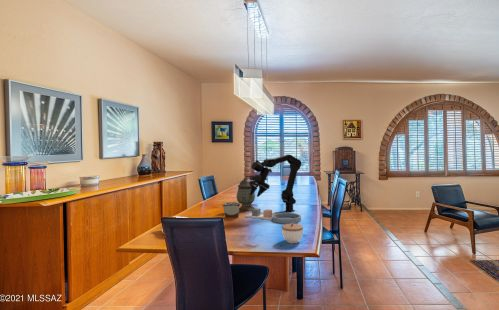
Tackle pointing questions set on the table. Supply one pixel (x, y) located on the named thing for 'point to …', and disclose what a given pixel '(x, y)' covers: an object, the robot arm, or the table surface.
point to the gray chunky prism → (255, 212)
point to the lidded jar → (292, 232)
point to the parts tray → (259, 216)
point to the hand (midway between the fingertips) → (254, 195)
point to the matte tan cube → (267, 213)
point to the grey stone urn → (245, 196)
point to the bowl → (287, 218)
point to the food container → (231, 209)
